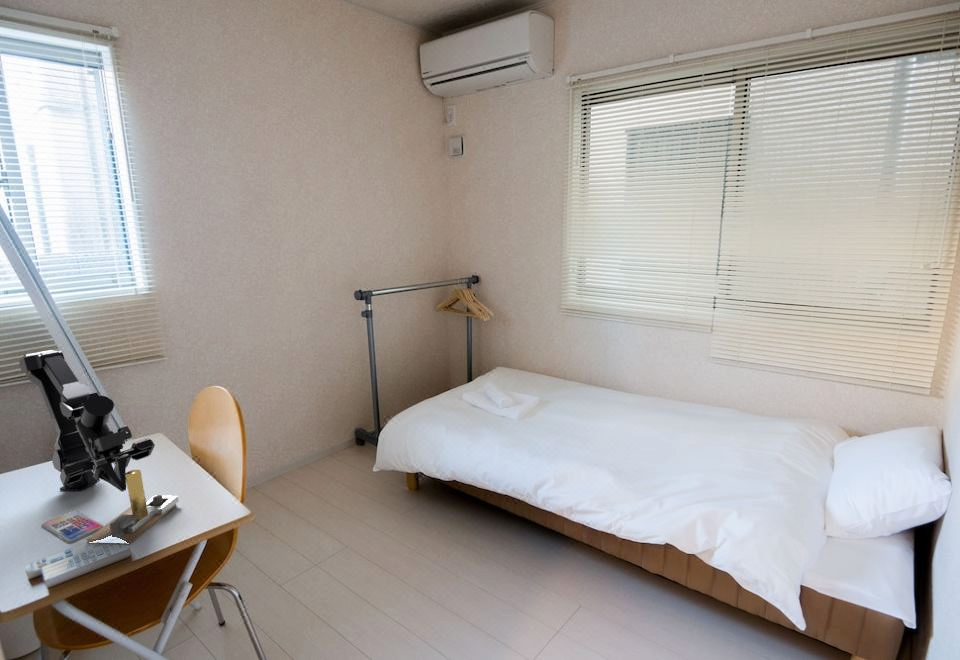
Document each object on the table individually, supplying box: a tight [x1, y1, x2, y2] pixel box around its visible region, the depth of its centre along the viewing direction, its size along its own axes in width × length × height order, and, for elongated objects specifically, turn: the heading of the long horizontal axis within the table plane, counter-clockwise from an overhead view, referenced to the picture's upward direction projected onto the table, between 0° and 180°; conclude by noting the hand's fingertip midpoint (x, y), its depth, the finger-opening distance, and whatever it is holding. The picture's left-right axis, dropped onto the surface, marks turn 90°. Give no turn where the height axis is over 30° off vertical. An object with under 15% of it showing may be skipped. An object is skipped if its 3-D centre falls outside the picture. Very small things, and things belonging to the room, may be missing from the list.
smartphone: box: [41, 510, 105, 544], centre depth 123 cm, size 7×1×15 cm
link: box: [123, 469, 179, 533], centre depth 123 cm, size 14×6×12 cm, turn 175°
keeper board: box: [86, 494, 177, 545], centre depth 124 cm, size 10×16×4 cm, turn 175°
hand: (124, 490), depth 124 cm, fingers closed
